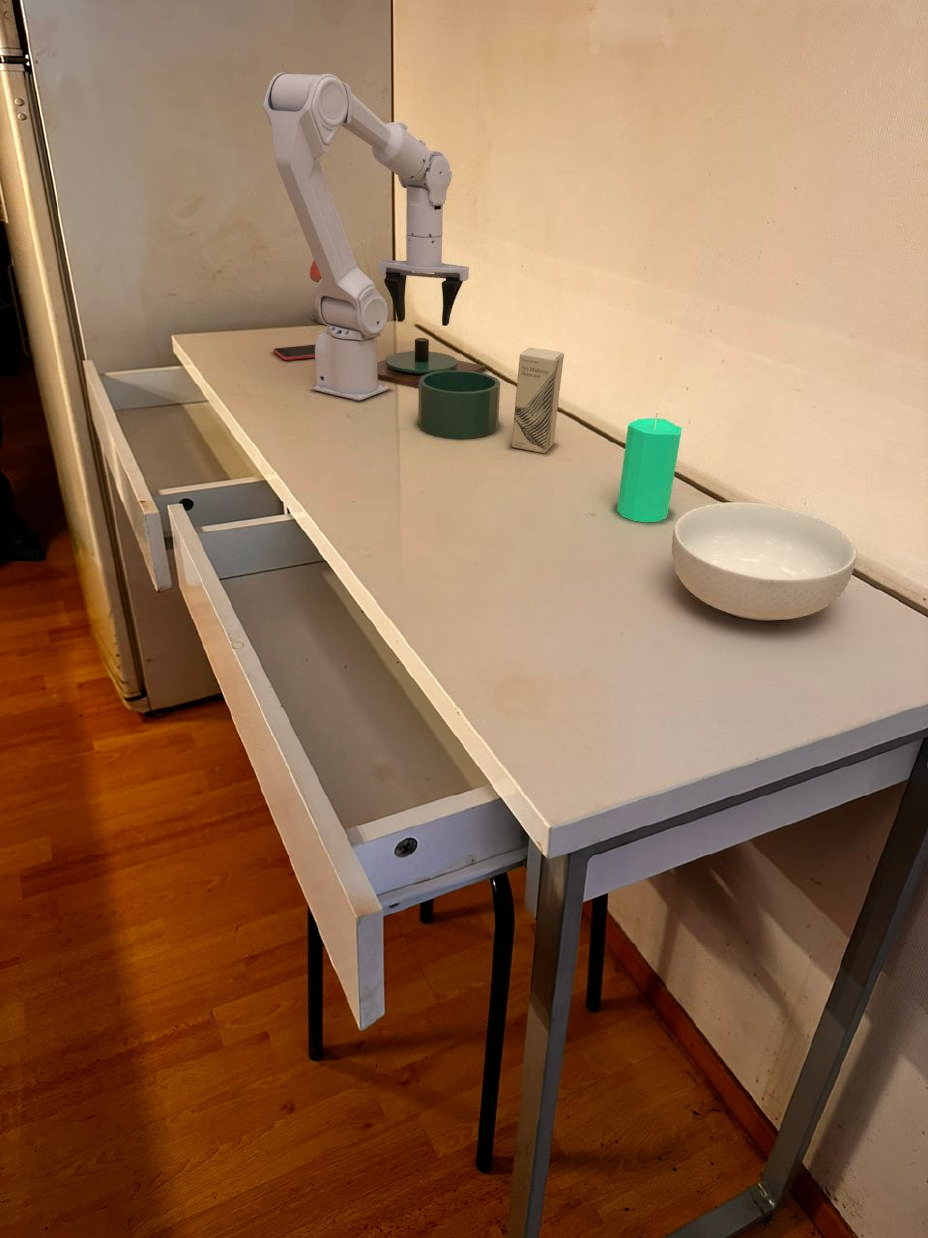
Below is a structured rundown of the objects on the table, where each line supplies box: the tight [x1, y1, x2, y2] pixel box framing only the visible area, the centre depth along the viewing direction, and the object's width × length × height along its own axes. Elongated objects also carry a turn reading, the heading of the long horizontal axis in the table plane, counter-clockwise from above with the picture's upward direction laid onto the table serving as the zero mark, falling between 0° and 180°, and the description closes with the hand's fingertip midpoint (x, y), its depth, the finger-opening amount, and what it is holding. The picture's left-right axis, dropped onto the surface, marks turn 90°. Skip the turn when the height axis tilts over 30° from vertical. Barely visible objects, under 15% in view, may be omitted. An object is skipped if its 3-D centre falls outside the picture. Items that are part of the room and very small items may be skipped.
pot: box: [417, 370, 501, 440], centre depth 129 cm, size 11×11×6 cm
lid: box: [384, 337, 458, 374], centre depth 153 cm, size 12×12×5 cm
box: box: [511, 347, 565, 454], centre depth 121 cm, size 5×4×13 cm
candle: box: [616, 412, 683, 523], centre depth 103 cm, size 6×6×12 cm
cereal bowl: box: [671, 501, 858, 622], centre depth 86 cm, size 17×17×7 cm
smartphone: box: [273, 343, 316, 361], centre depth 162 cm, size 7×1×14 cm
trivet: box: [377, 350, 487, 389], centre depth 154 cm, size 16×16×1 cm
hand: (423, 322), depth 150 cm, fingers open, 7 cm apart
